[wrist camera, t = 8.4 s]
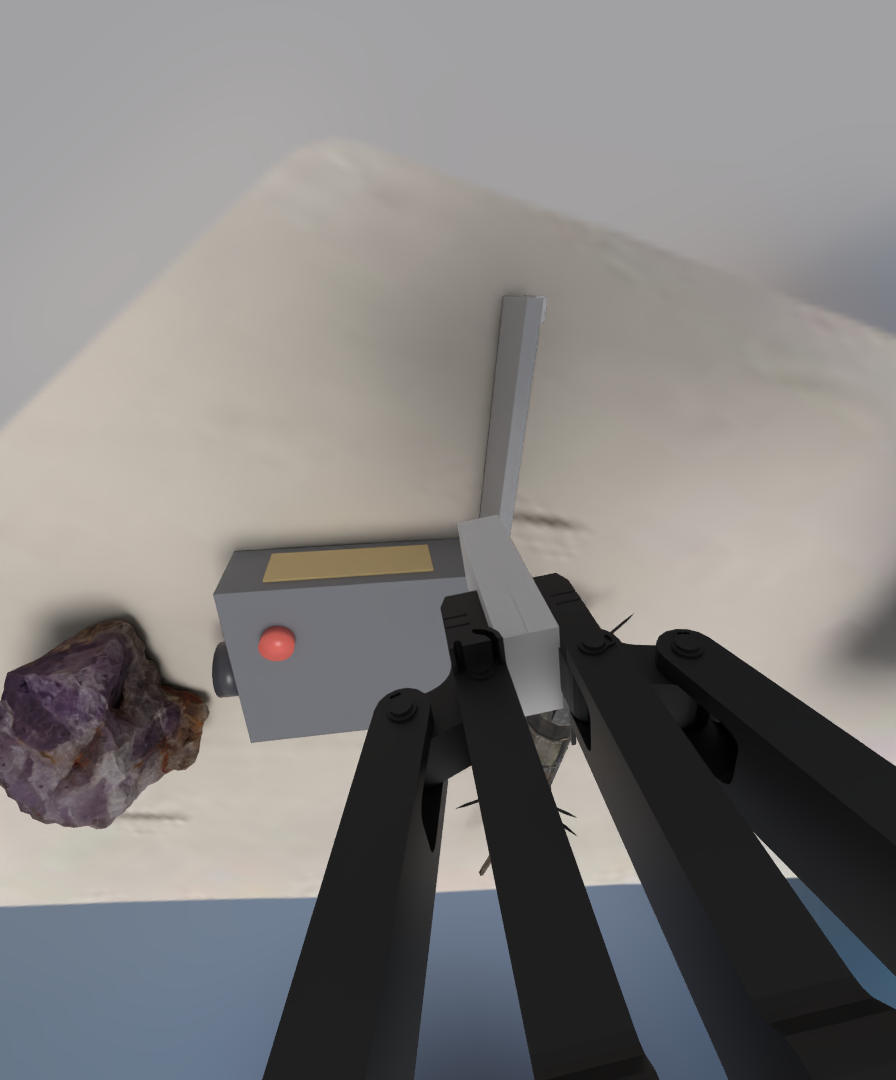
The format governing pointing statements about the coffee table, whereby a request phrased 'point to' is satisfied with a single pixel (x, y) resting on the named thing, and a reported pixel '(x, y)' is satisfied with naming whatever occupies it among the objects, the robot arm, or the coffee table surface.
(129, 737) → the rock
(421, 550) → the camera body
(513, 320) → the side door
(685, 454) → the coffee table surface
